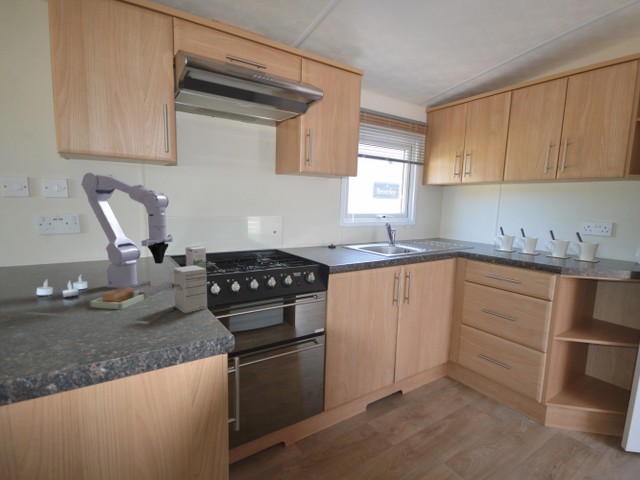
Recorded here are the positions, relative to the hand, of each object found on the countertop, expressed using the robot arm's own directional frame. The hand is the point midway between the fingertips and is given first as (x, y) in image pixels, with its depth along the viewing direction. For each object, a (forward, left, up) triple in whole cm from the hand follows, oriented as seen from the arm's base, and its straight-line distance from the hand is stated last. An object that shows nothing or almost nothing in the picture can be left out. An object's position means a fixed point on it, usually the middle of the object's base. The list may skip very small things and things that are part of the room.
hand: (158, 263), depth 118 cm
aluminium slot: (-1, -7, -10) cm, 12 cm away
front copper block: (-1, -20, -9) cm, 22 cm away
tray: (-1, -19, -10) cm, 21 cm away
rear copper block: (-1, -16, -9) cm, 19 cm away
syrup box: (+7, +13, -10) cm, 18 cm away
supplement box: (+23, -17, -10) cm, 30 cm away
